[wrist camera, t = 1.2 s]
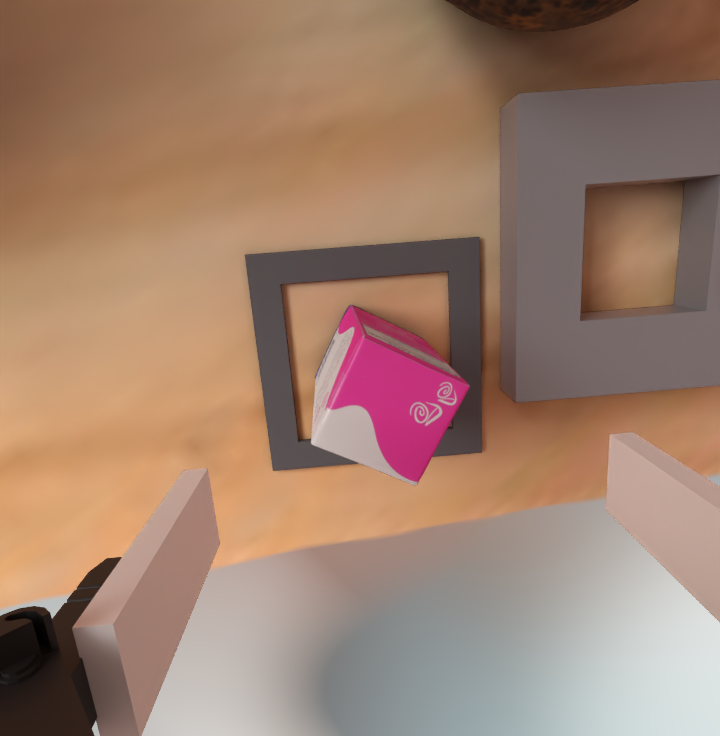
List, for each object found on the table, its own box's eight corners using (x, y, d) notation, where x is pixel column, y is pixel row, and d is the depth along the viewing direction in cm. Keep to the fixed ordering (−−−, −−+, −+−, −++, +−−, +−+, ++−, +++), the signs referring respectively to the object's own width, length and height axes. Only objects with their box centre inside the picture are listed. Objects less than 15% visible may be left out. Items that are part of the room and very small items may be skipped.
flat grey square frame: (246, 254, 31) (245, 254, 30) (477, 236, 31) (479, 237, 31) (273, 468, 35) (272, 470, 34) (480, 450, 35) (481, 452, 35)
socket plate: (500, 108, 29) (520, 91, 26) (755, 90, 30) (805, 72, 27) (500, 389, 34) (517, 404, 31) (722, 370, 34) (761, 383, 31)
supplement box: (390, 411, 34) (415, 492, 23) (313, 378, 33) (301, 444, 22) (428, 338, 33) (474, 386, 22) (349, 301, 32) (355, 331, 21)
